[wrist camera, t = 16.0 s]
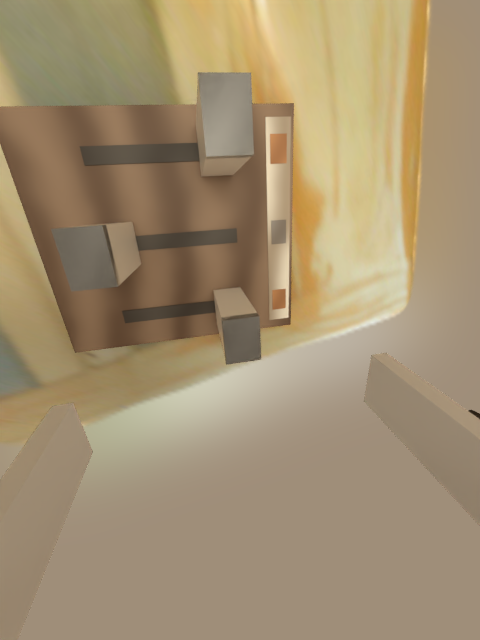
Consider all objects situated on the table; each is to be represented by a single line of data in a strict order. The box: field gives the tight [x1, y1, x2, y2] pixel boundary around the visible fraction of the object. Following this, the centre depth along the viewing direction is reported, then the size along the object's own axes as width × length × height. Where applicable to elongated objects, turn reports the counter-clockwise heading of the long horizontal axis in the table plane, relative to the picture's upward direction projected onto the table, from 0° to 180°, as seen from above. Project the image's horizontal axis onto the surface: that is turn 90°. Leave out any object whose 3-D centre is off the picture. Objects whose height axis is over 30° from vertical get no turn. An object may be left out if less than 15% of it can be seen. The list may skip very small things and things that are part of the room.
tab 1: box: [51, 222, 141, 292], centre depth 21 cm, size 3×4×9 cm
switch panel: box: [0, 103, 294, 353], centre depth 27 cm, size 25×22×3 cm
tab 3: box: [213, 287, 261, 365], centre depth 25 cm, size 3×4×9 cm
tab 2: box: [196, 73, 254, 177], centre depth 19 cm, size 3×4×9 cm
